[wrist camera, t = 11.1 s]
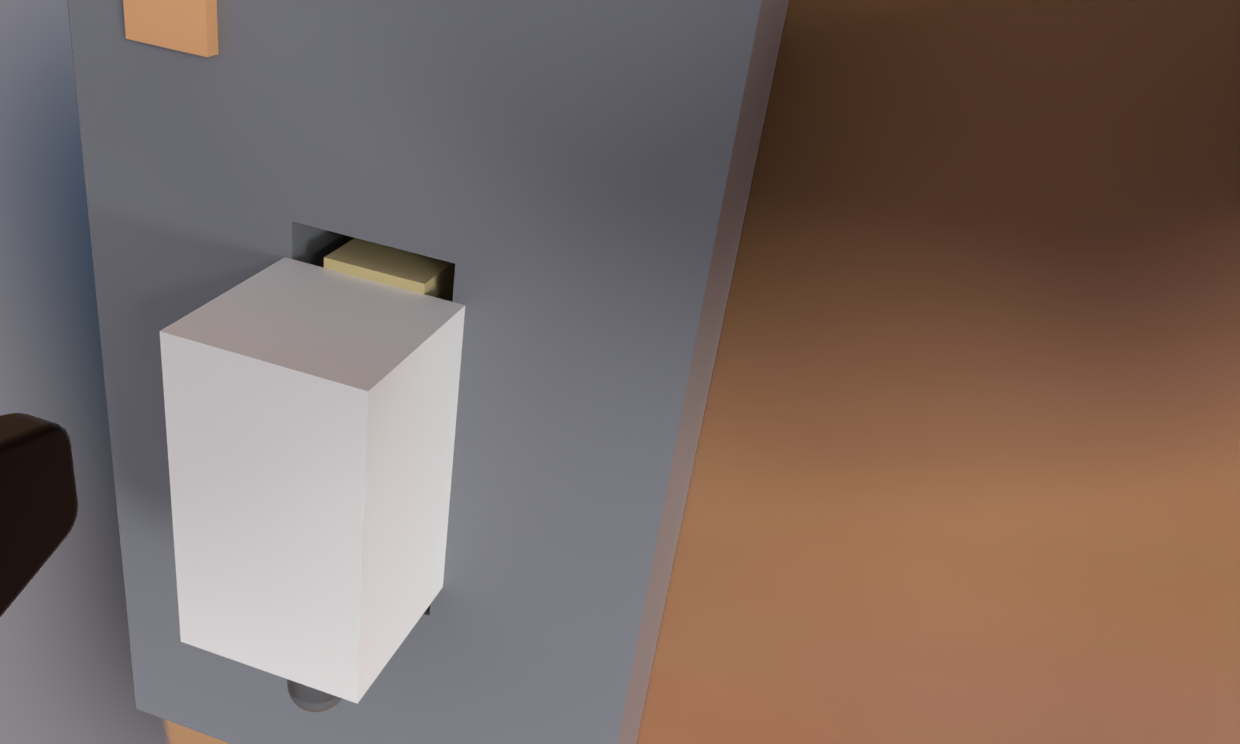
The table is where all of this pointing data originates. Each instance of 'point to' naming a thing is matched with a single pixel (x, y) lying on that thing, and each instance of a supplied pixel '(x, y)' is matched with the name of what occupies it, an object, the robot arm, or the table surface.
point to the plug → (314, 463)
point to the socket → (484, 282)
